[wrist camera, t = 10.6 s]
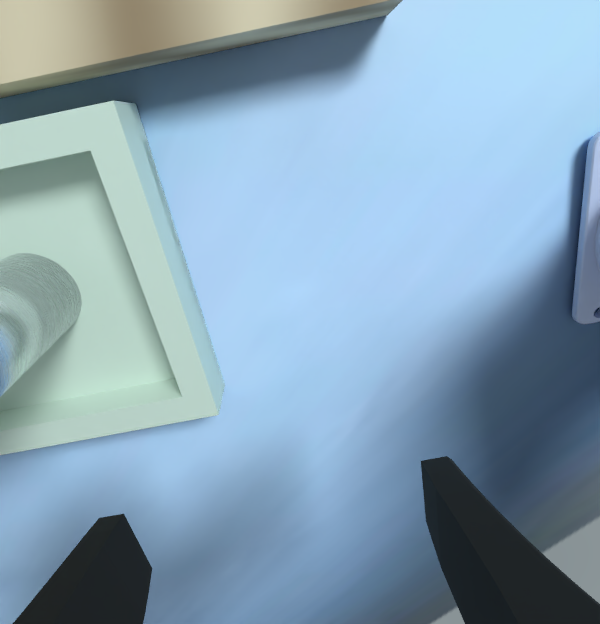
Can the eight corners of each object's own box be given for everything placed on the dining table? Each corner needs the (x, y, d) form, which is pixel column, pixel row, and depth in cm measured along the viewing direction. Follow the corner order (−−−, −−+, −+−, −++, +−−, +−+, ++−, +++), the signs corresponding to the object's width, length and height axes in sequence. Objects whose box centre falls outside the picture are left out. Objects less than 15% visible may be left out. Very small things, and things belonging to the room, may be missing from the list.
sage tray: (135, 103, 15) (113, 100, 13) (224, 385, 20) (218, 415, 18) (-188, 172, 15) (-260, 179, 13) (-21, 430, 20) (-54, 465, 18)
